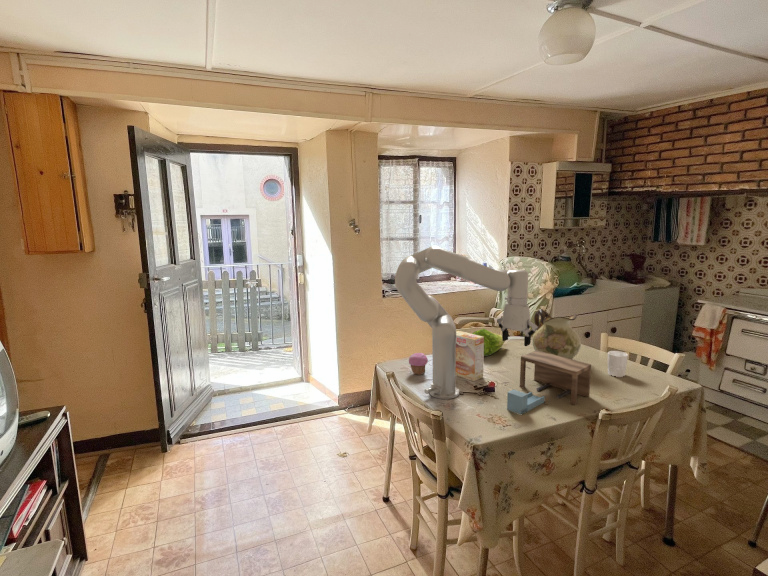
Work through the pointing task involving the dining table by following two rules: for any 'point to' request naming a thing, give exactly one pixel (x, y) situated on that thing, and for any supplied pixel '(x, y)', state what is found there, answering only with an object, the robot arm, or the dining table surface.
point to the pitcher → (555, 335)
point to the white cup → (617, 363)
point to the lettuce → (490, 341)
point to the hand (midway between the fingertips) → (515, 342)
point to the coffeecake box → (469, 355)
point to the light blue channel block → (522, 401)
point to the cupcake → (418, 363)
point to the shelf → (558, 373)
